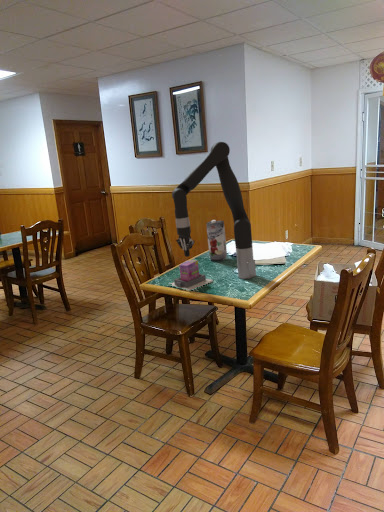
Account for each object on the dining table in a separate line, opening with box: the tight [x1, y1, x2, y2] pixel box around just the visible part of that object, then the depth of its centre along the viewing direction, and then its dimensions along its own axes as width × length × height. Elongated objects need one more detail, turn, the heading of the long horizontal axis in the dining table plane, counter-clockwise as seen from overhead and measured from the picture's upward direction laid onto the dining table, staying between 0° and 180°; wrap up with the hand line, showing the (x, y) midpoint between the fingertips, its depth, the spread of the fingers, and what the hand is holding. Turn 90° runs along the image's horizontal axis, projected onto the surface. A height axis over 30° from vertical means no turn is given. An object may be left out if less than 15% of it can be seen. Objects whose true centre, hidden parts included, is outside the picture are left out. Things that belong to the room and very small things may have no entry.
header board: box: [170, 273, 214, 290], centre depth 222 cm, size 18×18×4 cm
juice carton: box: [205, 219, 228, 262], centre depth 259 cm, size 9×10×27 cm
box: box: [178, 259, 200, 282], centre depth 220 cm, size 10×6×12 cm, turn 144°
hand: (187, 256), depth 218 cm, fingers closed
